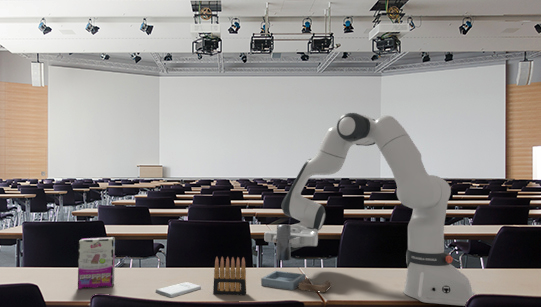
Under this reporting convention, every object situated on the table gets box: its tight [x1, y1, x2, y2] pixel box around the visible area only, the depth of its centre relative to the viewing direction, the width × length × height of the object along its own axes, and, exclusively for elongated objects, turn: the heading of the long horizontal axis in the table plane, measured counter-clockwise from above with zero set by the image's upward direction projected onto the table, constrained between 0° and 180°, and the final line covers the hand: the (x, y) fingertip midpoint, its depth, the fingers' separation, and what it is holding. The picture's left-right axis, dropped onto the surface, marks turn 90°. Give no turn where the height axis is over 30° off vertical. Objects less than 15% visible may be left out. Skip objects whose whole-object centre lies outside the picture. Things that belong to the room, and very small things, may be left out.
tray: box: [260, 270, 306, 291], centre depth 137 cm, size 12×12×2 cm
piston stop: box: [276, 223, 292, 261], centre depth 138 cm, size 5×5×12 cm
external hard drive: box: [155, 281, 202, 298], centre depth 128 cm, size 2×8×12 cm
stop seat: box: [298, 277, 332, 293], centre depth 131 cm, size 9×8×2 cm
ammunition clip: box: [212, 256, 247, 296], centre depth 125 cm, size 11×2×12 cm, turn 86°
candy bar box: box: [77, 236, 116, 290], centre depth 133 cm, size 11×5×16 cm, turn 105°
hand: (282, 241), depth 137 cm, fingers closed on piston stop, 5 cm apart
